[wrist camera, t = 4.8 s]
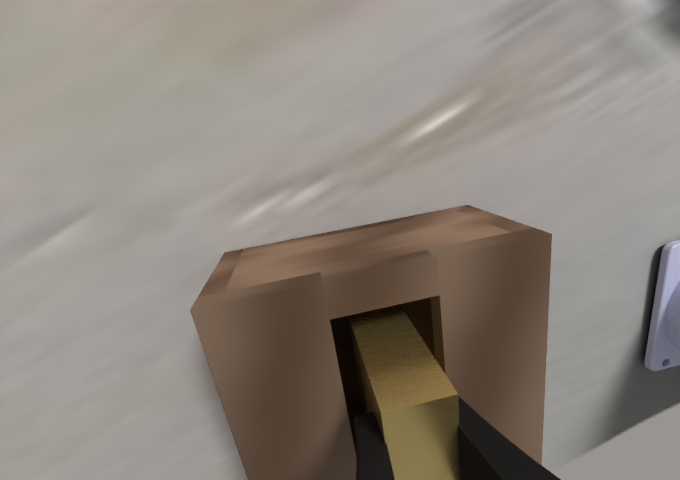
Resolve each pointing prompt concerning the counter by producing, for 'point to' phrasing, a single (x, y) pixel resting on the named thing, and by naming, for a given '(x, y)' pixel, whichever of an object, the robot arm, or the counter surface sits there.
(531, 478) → the robot arm
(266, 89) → the counter surface
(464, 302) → the coin box
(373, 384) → the block
